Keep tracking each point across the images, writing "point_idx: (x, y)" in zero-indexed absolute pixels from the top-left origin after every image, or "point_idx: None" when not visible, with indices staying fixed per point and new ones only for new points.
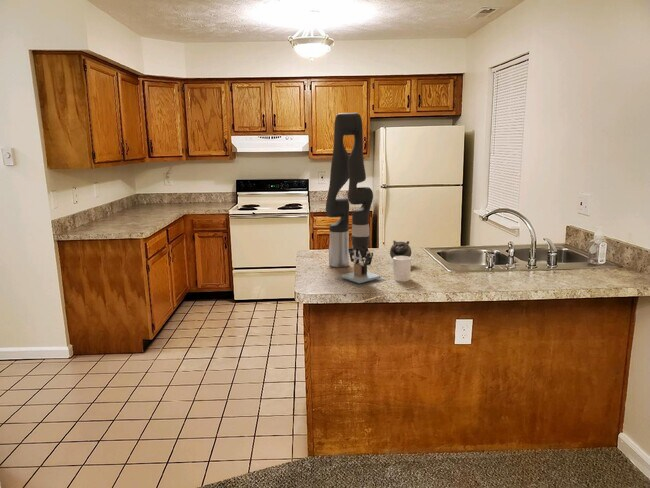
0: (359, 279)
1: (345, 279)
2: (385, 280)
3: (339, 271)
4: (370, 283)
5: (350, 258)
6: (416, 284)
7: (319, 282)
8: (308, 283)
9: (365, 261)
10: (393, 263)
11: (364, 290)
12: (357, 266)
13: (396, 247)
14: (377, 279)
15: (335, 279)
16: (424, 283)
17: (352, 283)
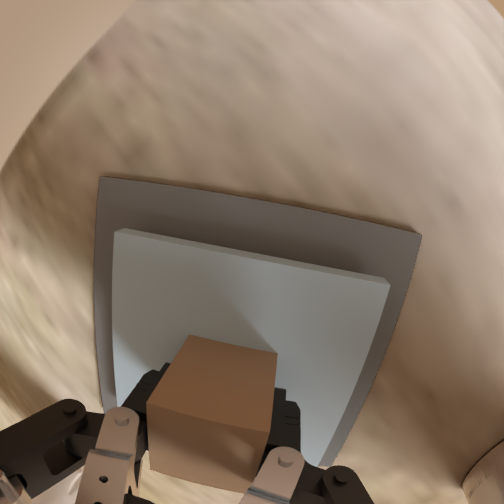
0: (143, 272)
1: None
2: (104, 408)
3: (479, 411)
4: (109, 313)
5: (365, 495)
6: (17, 408)
7: (468, 111)
8: (494, 54)
9: (49, 431)
10: (49, 494)
11: (59, 172)
12: (202, 405)
13: None
14: None
15: (413, 232)
16: None
17: (206, 227)
